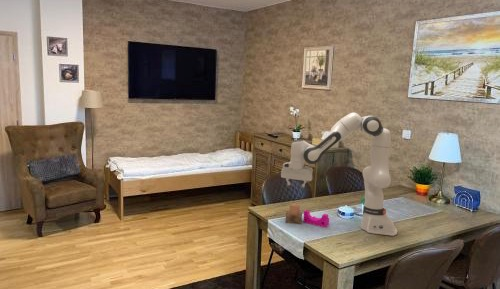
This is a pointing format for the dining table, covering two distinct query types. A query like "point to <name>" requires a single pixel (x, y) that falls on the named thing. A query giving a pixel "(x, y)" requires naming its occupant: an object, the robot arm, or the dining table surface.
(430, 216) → the dining table surface
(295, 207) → the terracotta block
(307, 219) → the toy block
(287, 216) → the walnut base block
